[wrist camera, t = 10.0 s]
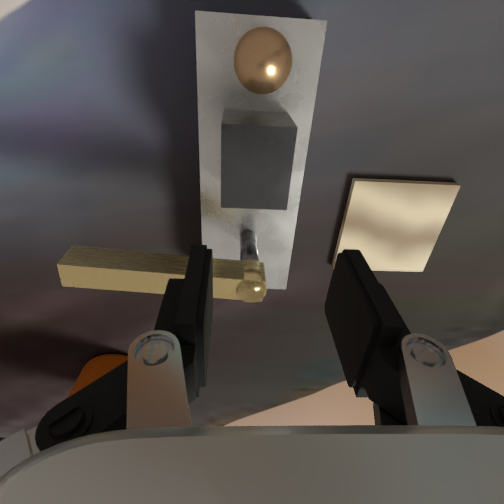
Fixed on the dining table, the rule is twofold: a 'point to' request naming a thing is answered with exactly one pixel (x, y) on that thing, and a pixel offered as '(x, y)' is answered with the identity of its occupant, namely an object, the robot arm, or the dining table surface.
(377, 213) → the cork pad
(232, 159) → the dark grey block
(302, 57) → the plane body
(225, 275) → the latch lever
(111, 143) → the dining table surface
